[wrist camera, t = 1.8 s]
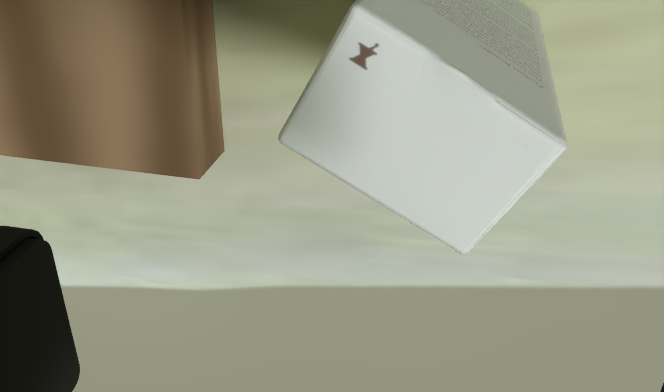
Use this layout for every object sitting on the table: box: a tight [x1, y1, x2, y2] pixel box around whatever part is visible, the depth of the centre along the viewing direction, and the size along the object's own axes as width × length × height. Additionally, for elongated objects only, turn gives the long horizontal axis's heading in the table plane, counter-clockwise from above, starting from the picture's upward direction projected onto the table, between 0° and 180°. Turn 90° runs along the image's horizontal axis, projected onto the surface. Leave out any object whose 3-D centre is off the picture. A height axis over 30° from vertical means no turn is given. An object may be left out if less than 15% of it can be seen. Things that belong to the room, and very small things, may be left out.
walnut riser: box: [0, 0, 224, 179], centre depth 28 cm, size 14×12×3 cm
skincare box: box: [278, 0, 567, 255], centre depth 20 cm, size 6×4×12 cm
